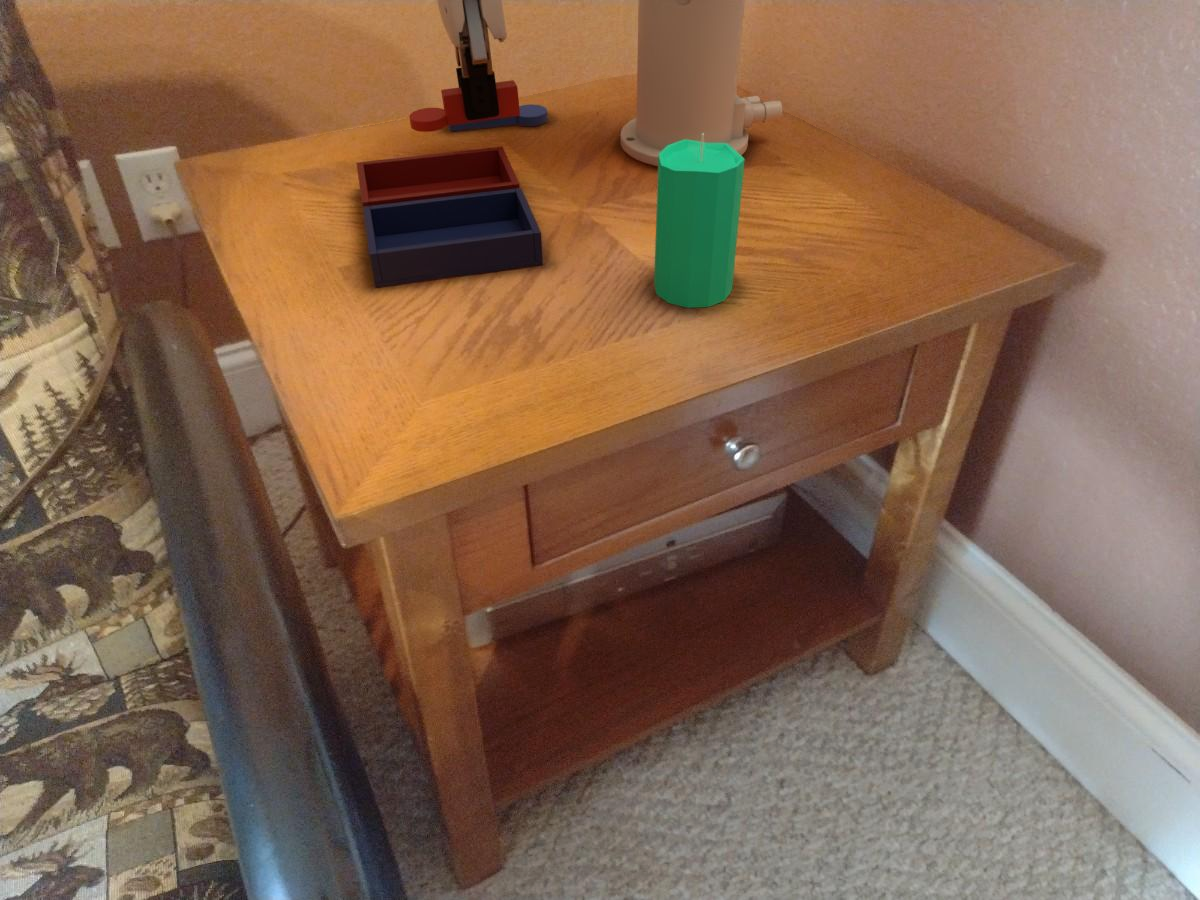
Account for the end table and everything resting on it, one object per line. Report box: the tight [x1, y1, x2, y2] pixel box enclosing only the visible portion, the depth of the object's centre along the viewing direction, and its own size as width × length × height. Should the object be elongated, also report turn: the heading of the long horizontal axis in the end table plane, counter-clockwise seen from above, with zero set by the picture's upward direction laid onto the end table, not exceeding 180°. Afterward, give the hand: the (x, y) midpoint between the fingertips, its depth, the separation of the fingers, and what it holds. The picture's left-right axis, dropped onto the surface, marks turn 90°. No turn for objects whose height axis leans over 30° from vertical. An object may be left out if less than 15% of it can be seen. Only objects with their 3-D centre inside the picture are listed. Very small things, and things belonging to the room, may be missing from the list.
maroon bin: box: [355, 146, 521, 208], centre depth 80 cm, size 13×8×3 cm, turn 105°
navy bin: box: [362, 187, 544, 289], centre depth 74 cm, size 13×8×3 cm, turn 105°
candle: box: [653, 133, 746, 309], centre depth 66 cm, size 6×6×12 cm
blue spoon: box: [447, 103, 549, 133], centre depth 94 cm, size 10×4×3 cm, turn 105°
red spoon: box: [408, 79, 520, 133], centre depth 86 cm, size 10×4×3 cm, turn 105°
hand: (480, 111), depth 87 cm, fingers closed on red spoon
